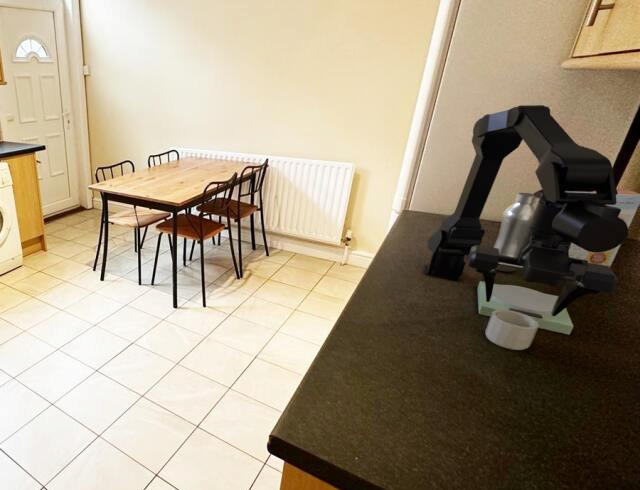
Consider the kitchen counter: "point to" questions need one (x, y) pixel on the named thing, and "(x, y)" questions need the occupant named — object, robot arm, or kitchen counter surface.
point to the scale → (525, 306)
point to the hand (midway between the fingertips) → (519, 307)
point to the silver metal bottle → (515, 227)
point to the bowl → (511, 329)
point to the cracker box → (628, 206)
